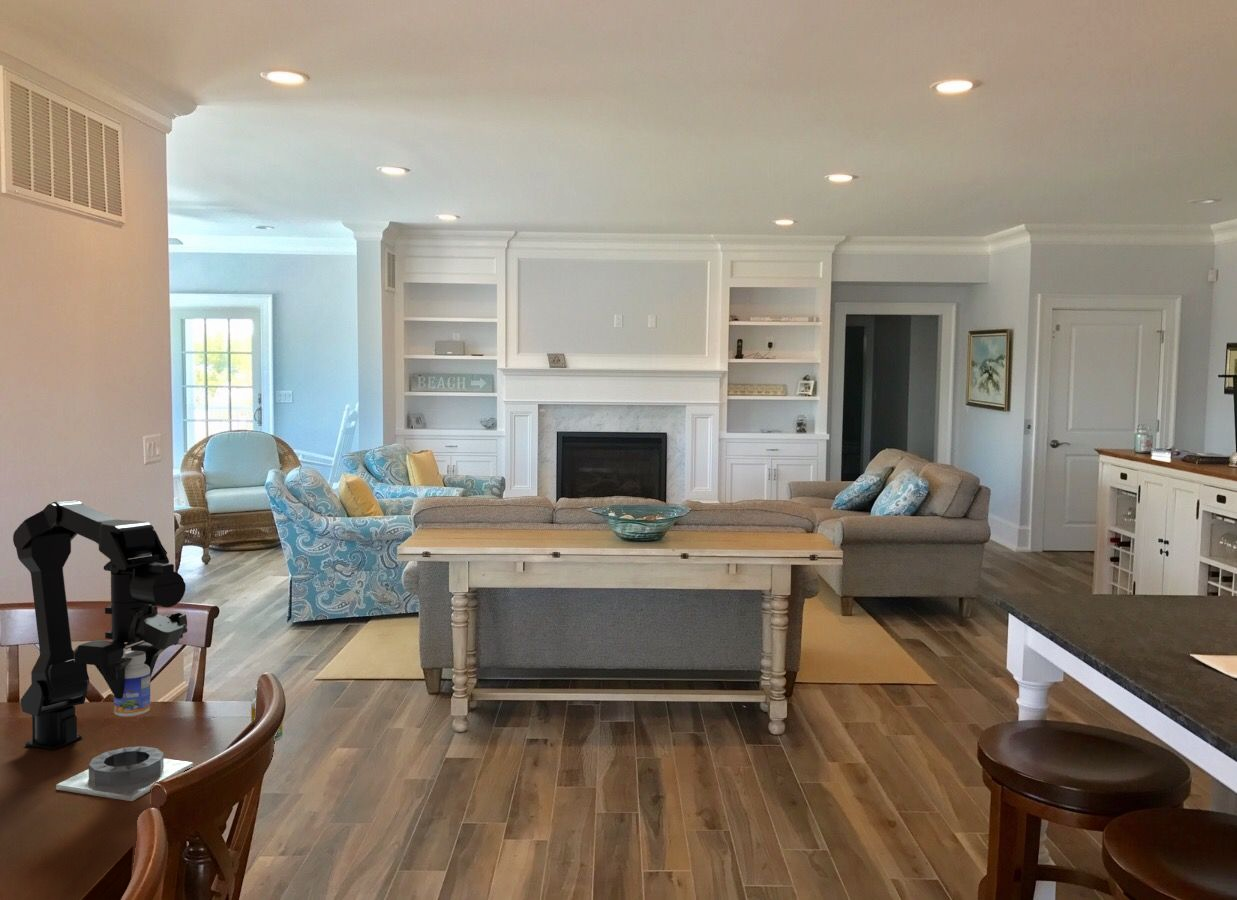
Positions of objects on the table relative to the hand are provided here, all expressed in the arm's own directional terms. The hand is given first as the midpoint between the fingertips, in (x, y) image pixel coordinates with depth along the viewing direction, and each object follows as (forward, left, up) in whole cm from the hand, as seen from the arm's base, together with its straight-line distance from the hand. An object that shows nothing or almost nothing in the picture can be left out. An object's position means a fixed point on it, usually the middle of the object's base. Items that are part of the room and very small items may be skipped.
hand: (131, 693), depth 158 cm
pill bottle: (0, 0, -3) cm, 3 cm away
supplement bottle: (+12, +19, -13) cm, 27 cm away
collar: (+1, -3, -13) cm, 13 cm away
